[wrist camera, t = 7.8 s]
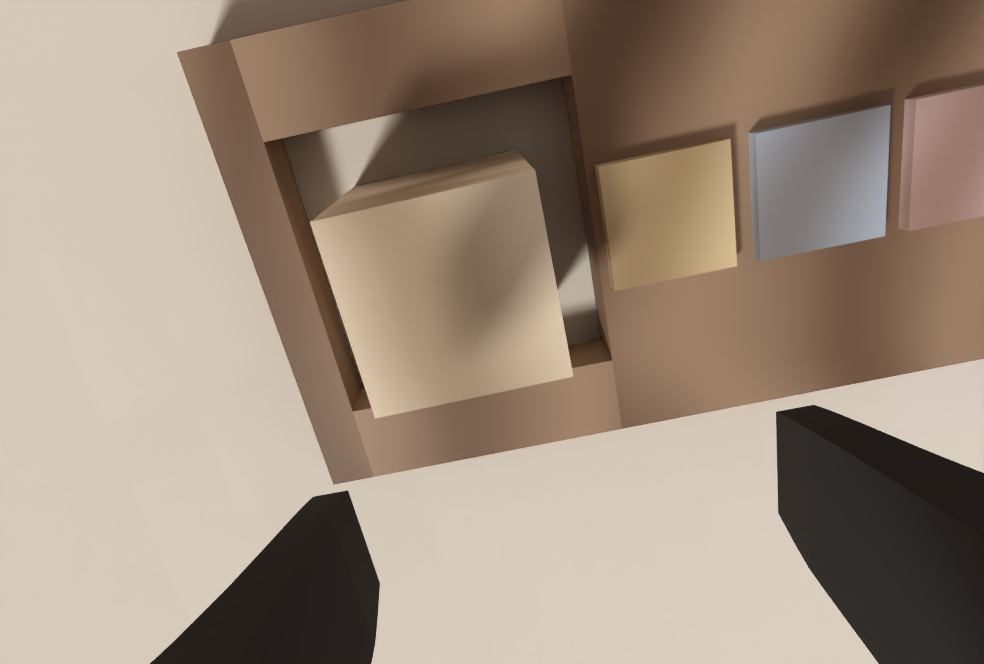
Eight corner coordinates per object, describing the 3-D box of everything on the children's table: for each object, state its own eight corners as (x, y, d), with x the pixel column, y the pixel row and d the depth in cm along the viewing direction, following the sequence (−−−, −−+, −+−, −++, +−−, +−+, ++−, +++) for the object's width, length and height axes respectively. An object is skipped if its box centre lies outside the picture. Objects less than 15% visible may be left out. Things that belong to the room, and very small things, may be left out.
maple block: (516, 149, 16) (535, 170, 11) (545, 303, 18) (573, 376, 13) (354, 186, 16) (309, 222, 12) (399, 335, 18) (374, 418, 13)
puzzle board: (1191, -167, 14) (1294, -205, 12) (1101, 308, 18) (1169, 330, 17) (203, 56, 15) (168, 50, 13) (343, 456, 19) (330, 492, 18)
